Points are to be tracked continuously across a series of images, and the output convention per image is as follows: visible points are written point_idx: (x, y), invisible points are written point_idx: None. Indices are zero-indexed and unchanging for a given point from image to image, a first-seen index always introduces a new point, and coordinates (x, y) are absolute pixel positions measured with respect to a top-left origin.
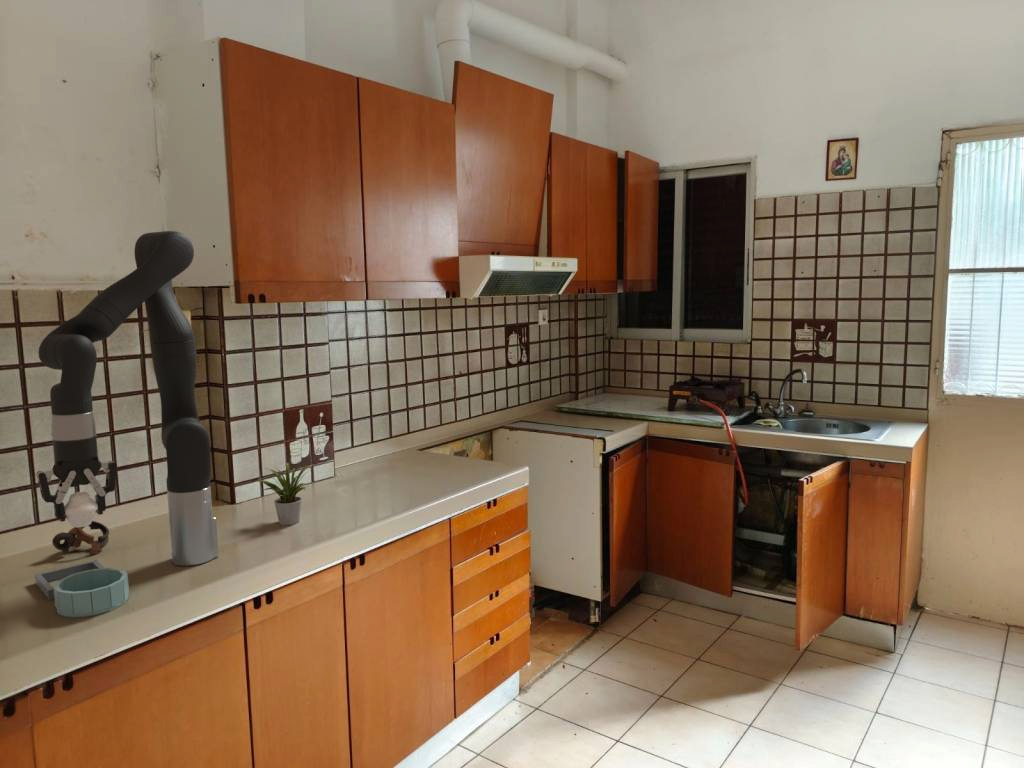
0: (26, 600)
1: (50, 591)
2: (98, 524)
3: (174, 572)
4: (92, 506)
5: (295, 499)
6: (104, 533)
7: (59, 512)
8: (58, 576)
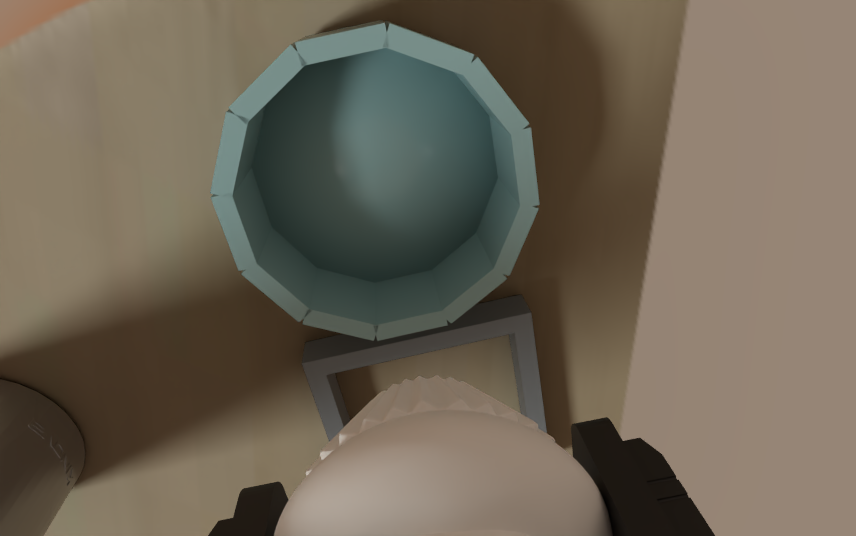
0: (585, 328)
1: (522, 311)
2: None
3: (64, 342)
4: (319, 514)
5: None
6: None
7: (651, 495)
8: None
